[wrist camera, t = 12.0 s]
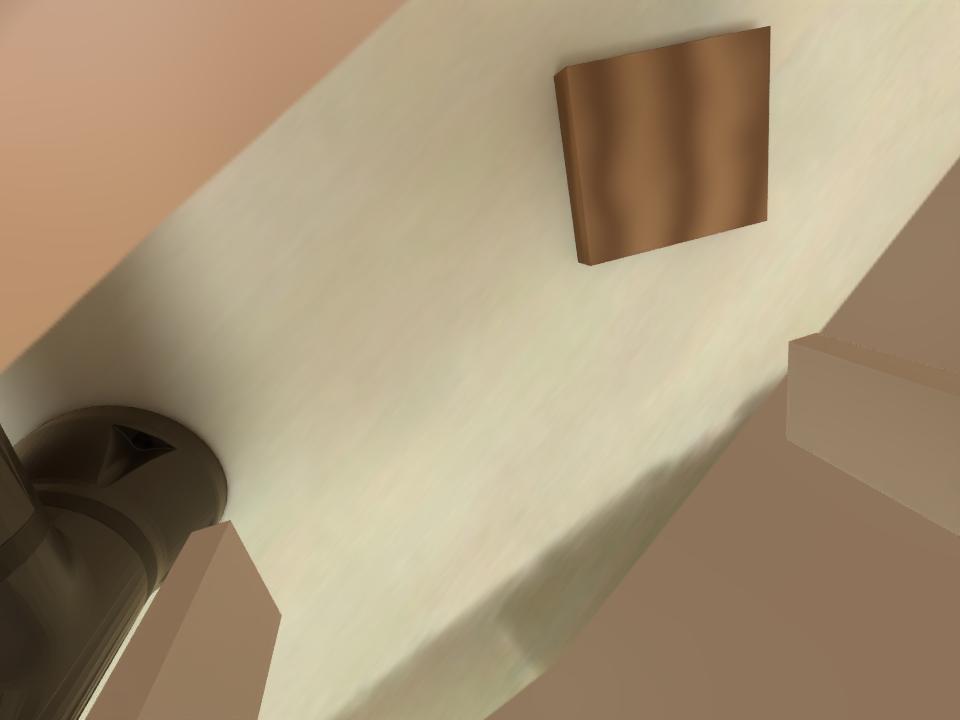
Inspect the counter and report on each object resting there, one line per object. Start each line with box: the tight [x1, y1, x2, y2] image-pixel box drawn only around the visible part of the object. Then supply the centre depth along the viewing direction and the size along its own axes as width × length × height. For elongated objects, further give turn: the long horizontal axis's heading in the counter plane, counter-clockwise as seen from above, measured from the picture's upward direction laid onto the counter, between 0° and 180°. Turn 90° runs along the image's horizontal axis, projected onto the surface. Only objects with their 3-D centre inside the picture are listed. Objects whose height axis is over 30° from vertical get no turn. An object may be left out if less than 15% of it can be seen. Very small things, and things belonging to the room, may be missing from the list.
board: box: [554, 26, 770, 266], centre depth 36 cm, size 16×14×2 cm
